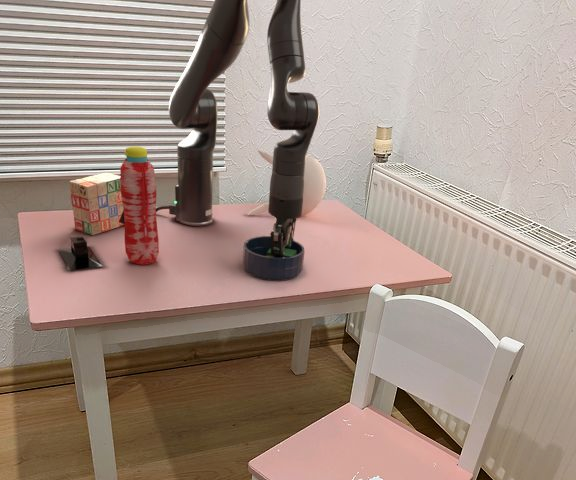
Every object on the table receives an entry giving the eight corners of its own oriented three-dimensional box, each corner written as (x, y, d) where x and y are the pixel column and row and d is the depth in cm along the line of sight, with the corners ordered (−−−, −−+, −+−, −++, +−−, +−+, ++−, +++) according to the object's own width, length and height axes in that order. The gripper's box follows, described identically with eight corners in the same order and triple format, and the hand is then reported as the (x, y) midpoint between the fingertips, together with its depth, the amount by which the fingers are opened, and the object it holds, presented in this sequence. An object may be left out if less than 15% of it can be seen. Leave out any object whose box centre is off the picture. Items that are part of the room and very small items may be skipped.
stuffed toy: (329, 154, 172) (250, 140, 163) (347, 169, 162) (263, 156, 153) (313, 214, 183) (238, 204, 173) (328, 232, 173) (249, 223, 163)
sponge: (265, 268, 135) (266, 252, 132) (271, 261, 138) (272, 245, 136) (290, 272, 134) (292, 256, 131) (295, 266, 137) (296, 250, 135)
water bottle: (117, 250, 138) (107, 139, 124) (150, 247, 141) (144, 139, 127) (130, 270, 129) (121, 153, 115) (165, 266, 133) (160, 152, 119)
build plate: (103, 268, 129) (101, 248, 126) (69, 272, 126) (66, 251, 123) (89, 247, 138) (87, 228, 135) (57, 251, 135) (54, 231, 132)
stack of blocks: (135, 211, 162) (132, 166, 156) (151, 216, 160) (149, 171, 153) (74, 229, 147) (68, 180, 140) (92, 235, 144) (86, 185, 138)
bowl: (234, 274, 132) (235, 251, 129) (253, 253, 144) (254, 232, 141) (293, 285, 130) (296, 262, 127) (308, 263, 141) (310, 242, 138)
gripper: (279, 182, 133) (273, 253, 142) (260, 198, 121) (256, 274, 131) (310, 187, 131) (303, 258, 141) (295, 204, 120) (288, 280, 129)
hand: (280, 266), depth 136 cm, fingers closed on sponge, 4 cm apart
